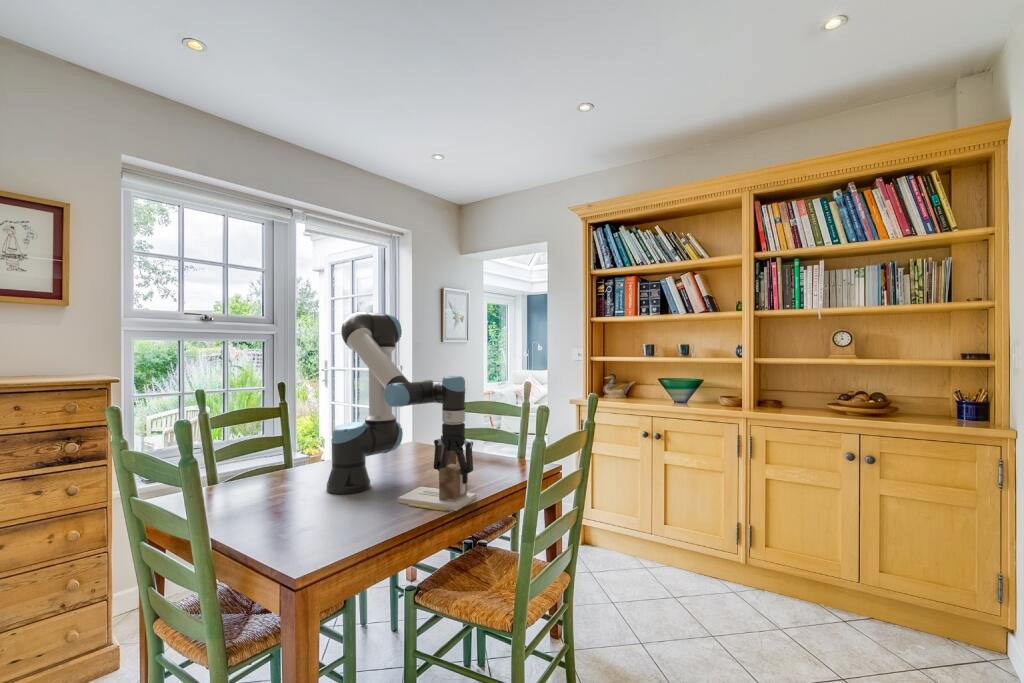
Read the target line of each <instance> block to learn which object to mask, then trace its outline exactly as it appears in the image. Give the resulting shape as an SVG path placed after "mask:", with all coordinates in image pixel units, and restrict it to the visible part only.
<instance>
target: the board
mask: <svg viewBox="0 0 1024 683" xmlns="http://www.w3.org/2000/svg"><path fill="white" fill-rule="evenodd" d="M476 498H477V493H475V492H467V495H466V496H464V497H463V498H461V499H460V500H458V501H456V502H451V501H443V500H439V488H434V487H427V486H419V487H417V488H415V489H413V490H411V491H409V492H407V493H404V494H402V495H401V496H398V497H397V503H398V504H405V505H409V504H416V505H424V506H431V507H438V508H445V509H449V511H455V512H457V511H459V510H460V509H462V508H463V507H465V506H467V505H468V504H469V503H471V502H472V501H474V500H475V499H476Z"/></svg>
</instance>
